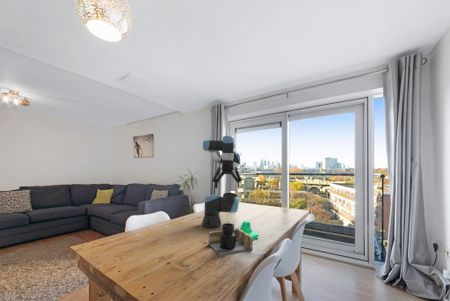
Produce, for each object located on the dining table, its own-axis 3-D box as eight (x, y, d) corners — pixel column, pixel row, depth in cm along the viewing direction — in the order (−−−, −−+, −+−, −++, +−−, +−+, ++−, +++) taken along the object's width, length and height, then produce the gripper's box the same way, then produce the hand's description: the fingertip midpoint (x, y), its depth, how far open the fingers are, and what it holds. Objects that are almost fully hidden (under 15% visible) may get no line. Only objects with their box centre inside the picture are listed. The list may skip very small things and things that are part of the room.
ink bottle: (237, 244, 116) (237, 223, 117) (235, 250, 107) (235, 227, 108) (220, 242, 117) (221, 222, 118) (217, 249, 109) (218, 226, 110)
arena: (208, 244, 117) (209, 232, 117) (238, 239, 125) (238, 228, 126) (219, 255, 102) (219, 241, 103) (252, 249, 111) (252, 236, 111)
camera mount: (245, 242, 122) (245, 225, 123) (237, 238, 128) (237, 222, 129) (259, 238, 129) (259, 222, 130) (250, 235, 135) (251, 219, 136)
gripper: (212, 159, 121) (211, 194, 120) (247, 160, 131) (246, 192, 131) (207, 159, 127) (206, 192, 127) (241, 159, 138) (240, 190, 137)
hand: (226, 192), depth 129 cm, fingers open, 13 cm apart
